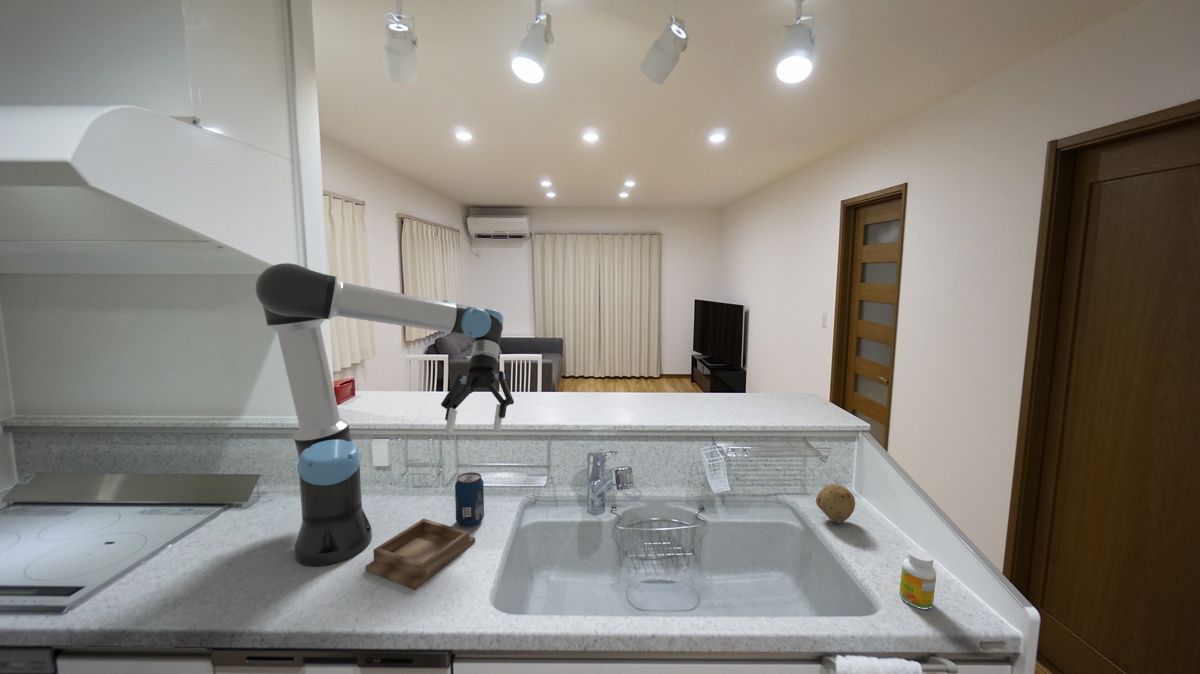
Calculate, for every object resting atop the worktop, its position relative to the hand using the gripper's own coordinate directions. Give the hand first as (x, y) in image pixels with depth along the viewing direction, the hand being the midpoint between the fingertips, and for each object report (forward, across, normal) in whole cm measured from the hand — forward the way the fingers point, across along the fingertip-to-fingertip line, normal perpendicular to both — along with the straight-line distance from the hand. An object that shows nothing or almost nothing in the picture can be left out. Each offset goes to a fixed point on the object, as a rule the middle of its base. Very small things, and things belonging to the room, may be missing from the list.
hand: (472, 431), depth 114 cm
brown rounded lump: (+19, -90, -33) cm, 98 cm away
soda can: (+21, +2, -9) cm, 23 cm away
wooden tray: (+29, +5, +3) cm, 30 cm away
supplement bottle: (+37, -96, -10) cm, 103 cm away
